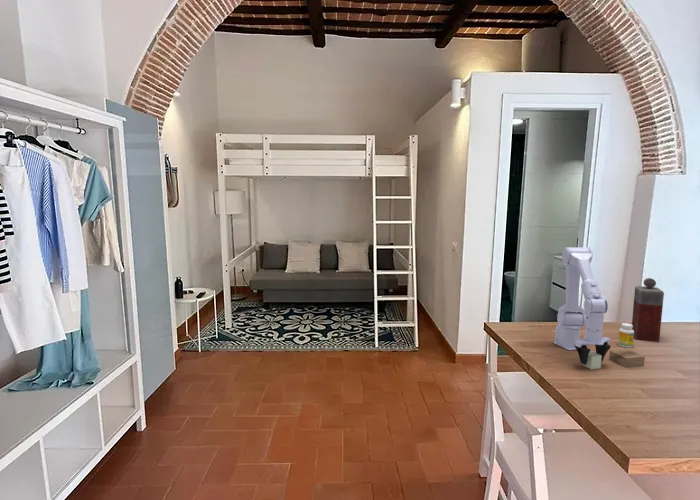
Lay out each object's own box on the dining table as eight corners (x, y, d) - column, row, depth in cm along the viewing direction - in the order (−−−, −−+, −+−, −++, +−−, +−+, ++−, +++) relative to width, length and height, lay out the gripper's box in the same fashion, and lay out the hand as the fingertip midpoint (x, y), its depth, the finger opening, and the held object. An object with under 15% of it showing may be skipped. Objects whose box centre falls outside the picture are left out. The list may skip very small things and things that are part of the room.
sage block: (581, 364, 155) (582, 352, 155) (590, 363, 156) (591, 351, 156) (591, 369, 151) (592, 356, 150) (600, 368, 152) (601, 355, 151)
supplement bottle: (621, 342, 178) (623, 321, 177) (635, 346, 173) (636, 324, 172) (615, 345, 175) (617, 324, 174) (629, 348, 170) (631, 327, 169)
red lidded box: (652, 334, 188) (657, 276, 184) (659, 342, 178) (665, 281, 174) (629, 332, 191) (634, 274, 188) (635, 339, 181) (640, 279, 178)
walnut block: (608, 359, 160) (609, 350, 159) (626, 358, 161) (626, 348, 161) (626, 368, 152) (626, 358, 152) (643, 366, 154) (644, 356, 153)
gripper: (587, 333, 146) (584, 369, 148) (618, 330, 150) (615, 364, 151) (571, 327, 153) (569, 361, 154) (602, 324, 156) (599, 357, 158)
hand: (591, 362), depth 153 cm, fingers open, 7 cm apart
